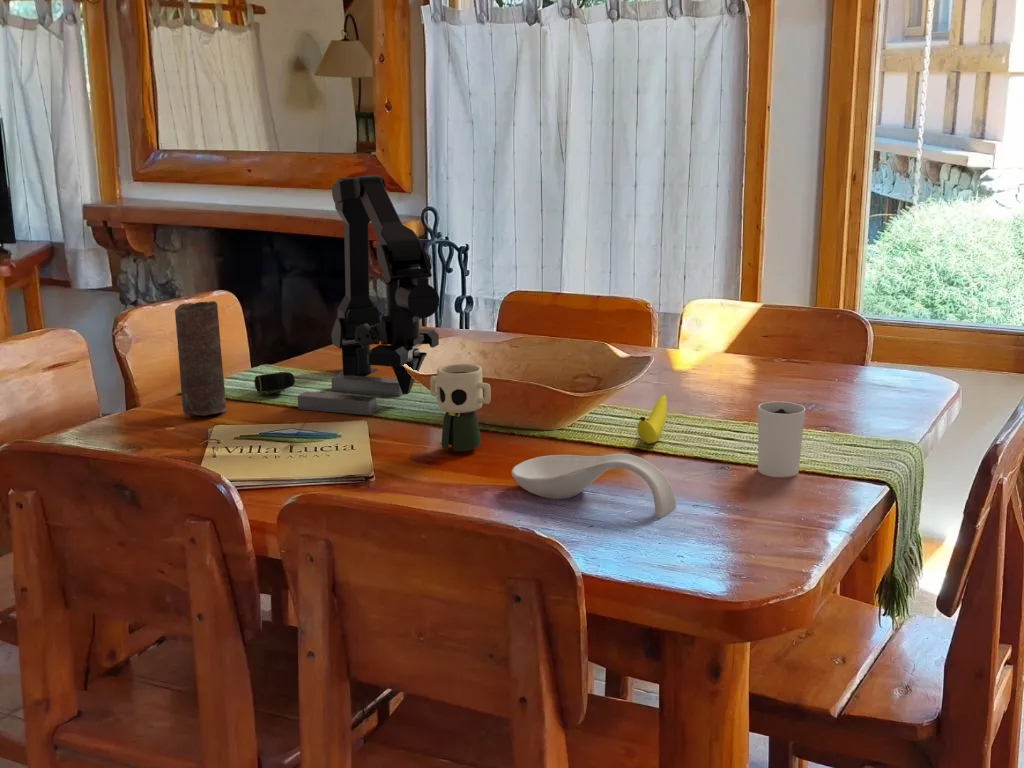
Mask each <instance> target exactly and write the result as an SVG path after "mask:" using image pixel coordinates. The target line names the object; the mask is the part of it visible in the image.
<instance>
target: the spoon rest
mask: <svg viewBox="0 0 1024 768" xmlns="http://www.w3.org/2000/svg"><path fill="white" fill-rule="evenodd" d="M616 468H617V469H618V468H619V469H625V470H629V471H631V472H633V473H635V474H636V475H638V476H639V477H641V478H642V479H643V480H644V481H645V483H646V484H647V485H648V486H649V488H650V490H651V493H652V496H653V500H654V501H653V502H654V503H653V504H654V512H655V513H654V515H655V517H656V518H657V519H661V518H664V517H666V516H667V515H669V514H670V513H671V512H674V511H675V510H676V509H677V505H676V504H677V503H676V498H675V497H676V496H675V493H674V490H673V487H672V485H671V483H670V482H669V480H668V478H667V477H666V476H665V475H664V473H663V472H662V471H661V470H659V468H657V467H656V466H655V465H653V464H652V463H651V462H649V461H648V460H646V459H644V458H642V457H640V456H637V455H634V454H629V453H613V454H606V455H595V456H594V455H577V454H576V455H575V454H551V455H543V456H536V457H533V458H530V459H527V460H524V461H522V462H520V463H518V464H516V465H515V466H513V468H512V470H511V475H512V477H513V479H514V480H515V482H516V483H517V484H518V485H519V486H520V487H521V488H523V489H524V490H525V491H527V492H529V493H531V494H534V495H537V496H539V497H541V498H546V499H554V500H555V499H559V500H560V499H561V500H562V499H569V498H572V497H575V496H577V495H579V494H580V493H582V492H583V491H584V490H586V489H587V488H588V487H590V486H591V484H592V483H594V482H595V481H596V480H597V479H598V478H600V477H601V476H602V475H603V474H604V473H606V472H607V471H610V470H613V469H616Z"/></svg>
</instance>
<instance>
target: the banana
mask: <svg viewBox="0 0 1024 768" xmlns="http://www.w3.org/2000/svg"><path fill="white" fill-rule="evenodd" d="M667 417H668V403H667V396H666V394H662V396H660V398H659V399H658V400H657V401H656V403H655V404H654V407H653V409H652V411H651V413H650V415H649V418H648V419H646V416H640V417H639V421H638V423H637V427H636V430H637V434H638V437H639V439H640V440H641V441H642V442H644V443H646V444H649V445H650V444H653V443H656V442H658V441H659V440H660V437H662V433H663V430H664V427H665V425H666V422H667Z"/></svg>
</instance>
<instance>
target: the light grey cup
mask: <svg viewBox="0 0 1024 768" xmlns="http://www.w3.org/2000/svg"><path fill="white" fill-rule="evenodd" d="M757 413H758V414H757V416H758V417H757V421H758V422H757V430H758V431H757V433H758V435H757V437H758V438H757V443H758V444H757V447H758V448H757V451H758V452H757V461H758V462H757V472H759V473H760V474H763V475H765V476H768V477H773V478H791V477H795V476H797V475H798V474H799V471H800V469H799V468H800V462H801V461H800V460H801V452H802V445H803V435H804V434H803V433H804V424H805V415H806V407H805V406H804V405H802V404H798V403H794V402H790V401H789V402H788V401H779V400H778V401H767V402H762V403H760V404H758V409H757Z"/></svg>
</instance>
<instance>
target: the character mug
mask: <svg viewBox="0 0 1024 768" xmlns="http://www.w3.org/2000/svg"><path fill="white" fill-rule="evenodd" d="M429 386H430V389H429V390H430V391H429V392H430V395H431V396H433V397H436V401H437V406H438V408H440V410H441V411H443V412H445V414H444V417H443V420H442V421H443V422H442V430H441V431H442V432H441V444H440V445H441V447H442V449H445V450H447V451H448V450H449V446H451V447H452V450H453V452H466V451H472V450H473V451H474V449H476V448H478V447H479V446H480V445H482V439H481V431H480V426H479V419H478V415H477V413H476V411H477V410H479V409H481V408H482V407H483V404H485V405H488V404H490V403H491V394H492V393H491V385H490V384H489V383H487V382H483V369H482V366H480V365H477V364H473V363H453V364H451V363H450V364H446V365H445V364H444V365H441V366H439V367H437V370H436V375H432V376H430V379H429ZM483 390H484V392H483ZM483 395H484V396H483Z"/></svg>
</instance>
